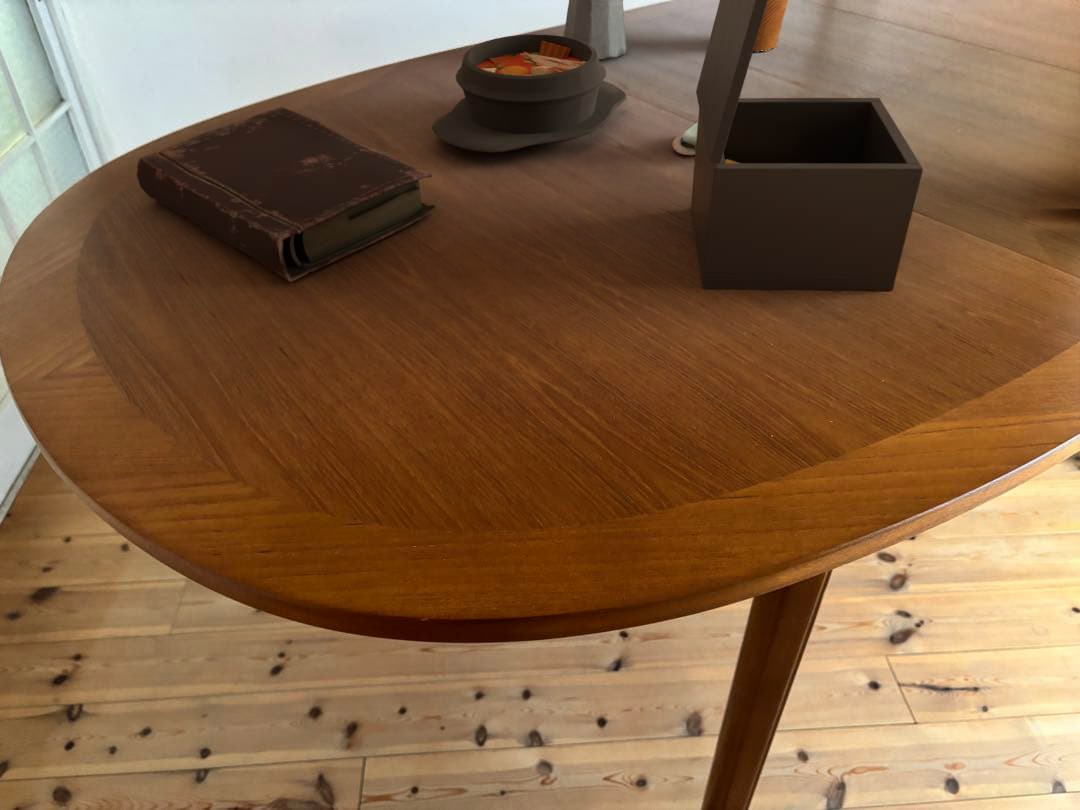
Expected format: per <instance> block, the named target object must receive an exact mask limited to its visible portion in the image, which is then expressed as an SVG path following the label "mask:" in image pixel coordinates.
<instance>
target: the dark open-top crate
mask: <svg viewBox="0 0 1080 810" xmlns="http://www.w3.org/2000/svg"><path fill="white" fill-rule="evenodd" d="M697 122H698V128H697V140H696V152H695V155H694V165H693V175H692V189H691V201H690V213H691V219H692V226H693V234H694V241H695V248H696V254H697V261H698V268H699V274H700V283H701V288H702V289H704V290H706V289H707V290H711V289H712V290H791V291H793V290H795V291H796V290H797V291H888V292H889V291H892V292H893V290H894V287H895V284H896V278H897V275H898V271H899V267H900V263H901V259H902V256H903V252H904V247H905V243H906V239H907V235H908V231H909V228H910V223H911V219H912V216H913V211H914V209H915V204H916V201H917V196H918V191H919V189H920V184H921V181H922V176H923V172H924V167H923V166H922V164H921V163H920V161H919V160H918V158H917V156H916V155H915V153H914V151H913V150H912V148H911V147H910V145H909V143H908V141H907V140H906V138H905V137H904V135H903V134H902V132H901V131H900V129H899V128H898V125H897V124H896V122H895V121H894V119H893V118H892V116H891V114H890V113H889V111H888V109H887V108H886V106H885V104H884V103H883V102H882V100H881V98H880V97H740V98H739V101H738V104H737V108H736V111H735V115H734V118H733V121H732V125H731V128H730V132H729V135H728V139H727V142H726V145H725V149H724V152H723V156H722V159H721V162H720V163H716V162H710V159H709V154H708V149H707V144H706V139H705V134H704V129H703V124H702V119H701V114H700V109H699V108H698V119H697ZM726 159H728V160H731V161H735V162H738V163H726V162H725V160H726Z"/></svg>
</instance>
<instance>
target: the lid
mask: <svg viewBox="0 0 1080 810" xmlns="http://www.w3.org/2000/svg"><path fill="white" fill-rule="evenodd" d="M767 2H768V0H719V3H718V6H717V10H716V12H715V13H716V14H715V17H714V21H713V25H712V28H711V29H712V30H711V33H710V37H709V41H708V43H707V44H708V45H707V49H706V52H705V55H704V60H703V64H702V68H701V70H700V75H699V79H698V83H697V86H696V90H695V93H696V99H697V103H698V110H699V109H700V114H701V119H702V124H703V129H704V134H705V139H706V144H707V149H708V154H709V159H710V162H716V163H720V162H721V159H722V156H723V152H724V149H725V145H726V142H727V139H728V135H729V132H730V128H731V125H732V121H733V118H734V115H735V111H736V108H737V104H738V101H739V98H741V95H742V90H743V87H744V84H745V80H746V77H747V75H748V74H747V73H748V70H749V67H750V63H751V60H752V57H753V53H754V52H753V50H754V46H755V43H756V39H757V36H758V33H759V29H760V26H761V22H762V19H763V16H764V12H765V9H766V5H767Z"/></svg>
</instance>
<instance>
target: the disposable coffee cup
mask: <svg viewBox="0 0 1080 810" xmlns="http://www.w3.org/2000/svg"><path fill="white" fill-rule="evenodd" d="M788 3H789V0H768V2H767V5H766V9H765V12H764V16H763V19H762V22H761V26H760V29H759V33H758V36H757V39H756V43H755V46H754V50H753V51H761V50H763V51H764V50H769V49H772V48H774V47H775V46H776V47H777V46H778V45H777V44H778V40H779V36H780V33H781V28H782V25H783V22H784V18H785V14H786V10H787V6H788ZM776 47H775V48H776ZM775 48H774V49H775ZM772 50H773V49H772ZM769 51H770V50H769Z"/></svg>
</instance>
